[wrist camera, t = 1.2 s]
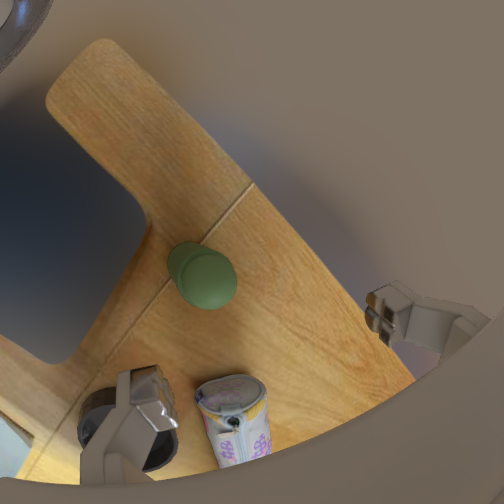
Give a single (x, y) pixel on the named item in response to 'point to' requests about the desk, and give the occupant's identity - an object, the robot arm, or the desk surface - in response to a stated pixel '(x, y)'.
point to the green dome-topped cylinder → (202, 275)
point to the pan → (97, 412)
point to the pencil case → (235, 418)
